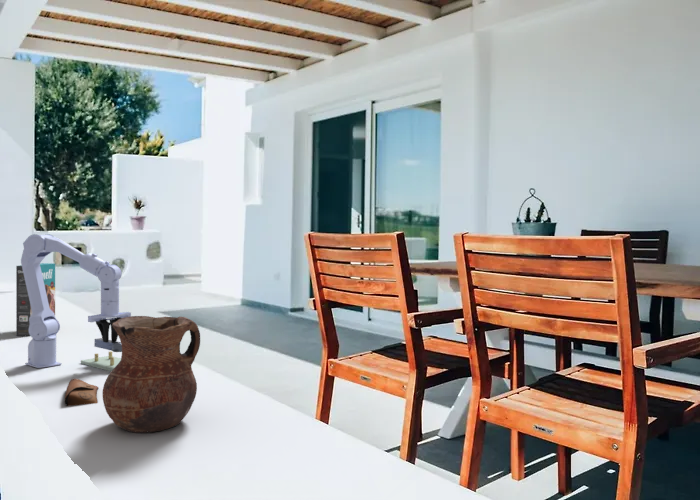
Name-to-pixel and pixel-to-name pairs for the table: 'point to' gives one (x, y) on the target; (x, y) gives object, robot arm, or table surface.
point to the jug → (152, 373)
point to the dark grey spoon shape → (108, 345)
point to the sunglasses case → (80, 393)
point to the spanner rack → (103, 362)
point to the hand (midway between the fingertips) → (109, 341)
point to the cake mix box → (23, 299)
